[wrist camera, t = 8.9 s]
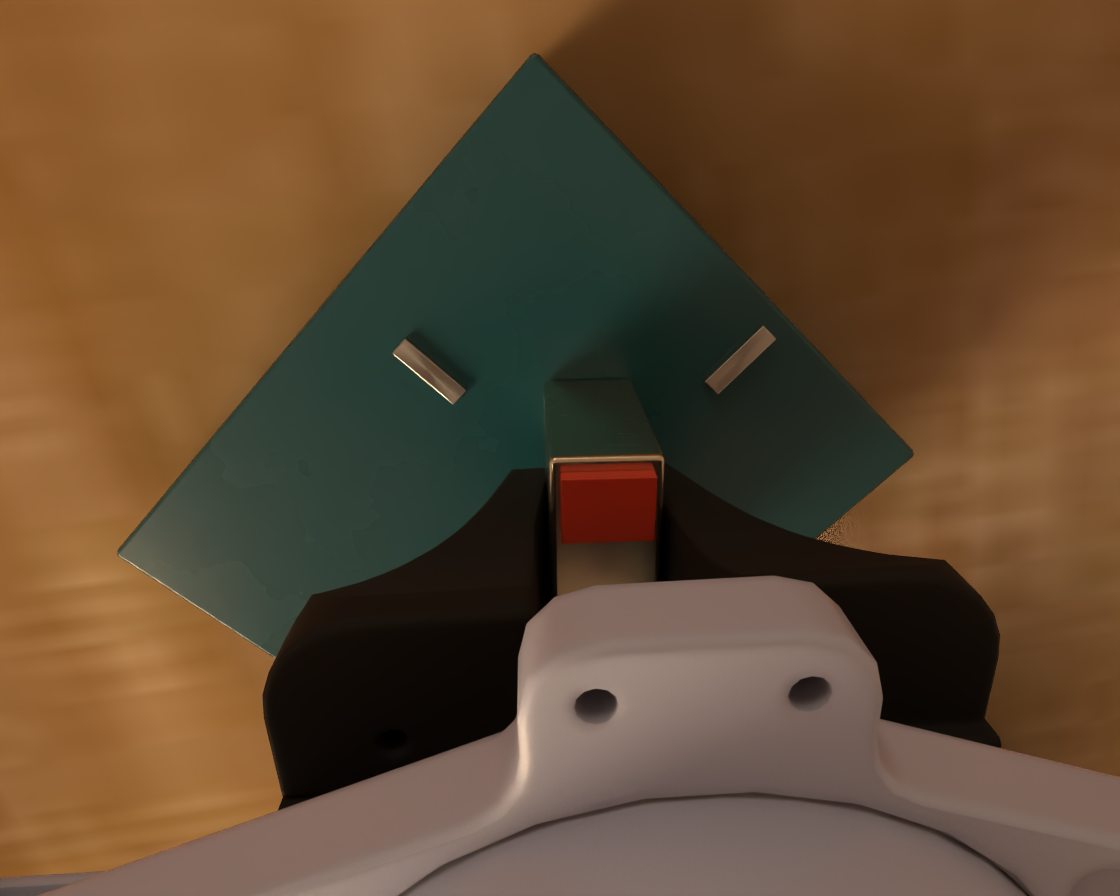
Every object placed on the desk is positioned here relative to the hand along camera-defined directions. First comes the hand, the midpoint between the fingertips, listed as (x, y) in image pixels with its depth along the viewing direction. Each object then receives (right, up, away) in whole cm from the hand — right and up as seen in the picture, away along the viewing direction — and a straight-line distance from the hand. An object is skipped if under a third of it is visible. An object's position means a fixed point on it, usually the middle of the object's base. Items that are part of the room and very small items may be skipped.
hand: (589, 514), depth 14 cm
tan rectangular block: (0, 0, 0) cm, 0 cm away
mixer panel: (-2, +1, +3) cm, 3 cm away
